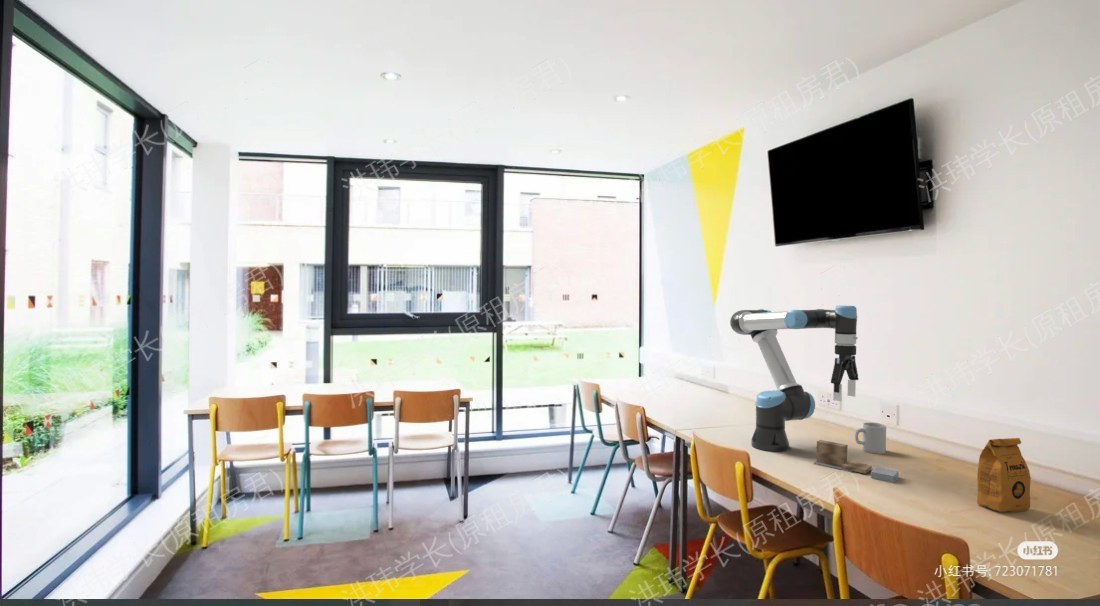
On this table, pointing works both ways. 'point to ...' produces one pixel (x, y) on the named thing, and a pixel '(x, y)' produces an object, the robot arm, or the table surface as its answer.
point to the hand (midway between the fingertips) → (844, 398)
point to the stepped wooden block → (838, 457)
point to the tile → (885, 474)
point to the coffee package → (1003, 476)
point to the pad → (831, 466)
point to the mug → (873, 438)
